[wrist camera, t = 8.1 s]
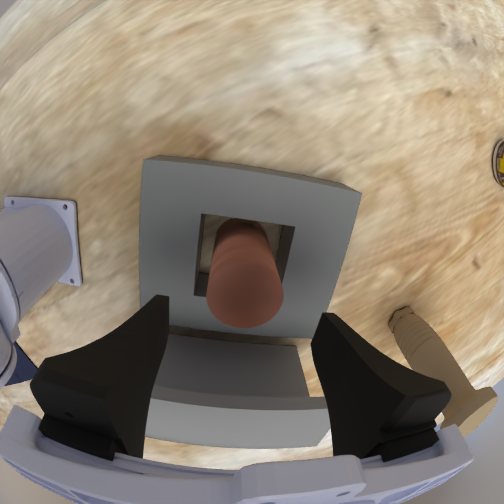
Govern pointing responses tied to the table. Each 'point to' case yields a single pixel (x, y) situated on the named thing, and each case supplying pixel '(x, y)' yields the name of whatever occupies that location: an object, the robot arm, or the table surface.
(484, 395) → the handle
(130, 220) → the table surface
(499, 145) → the supplement bottle
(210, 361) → the socket stand
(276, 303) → the peg
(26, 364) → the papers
